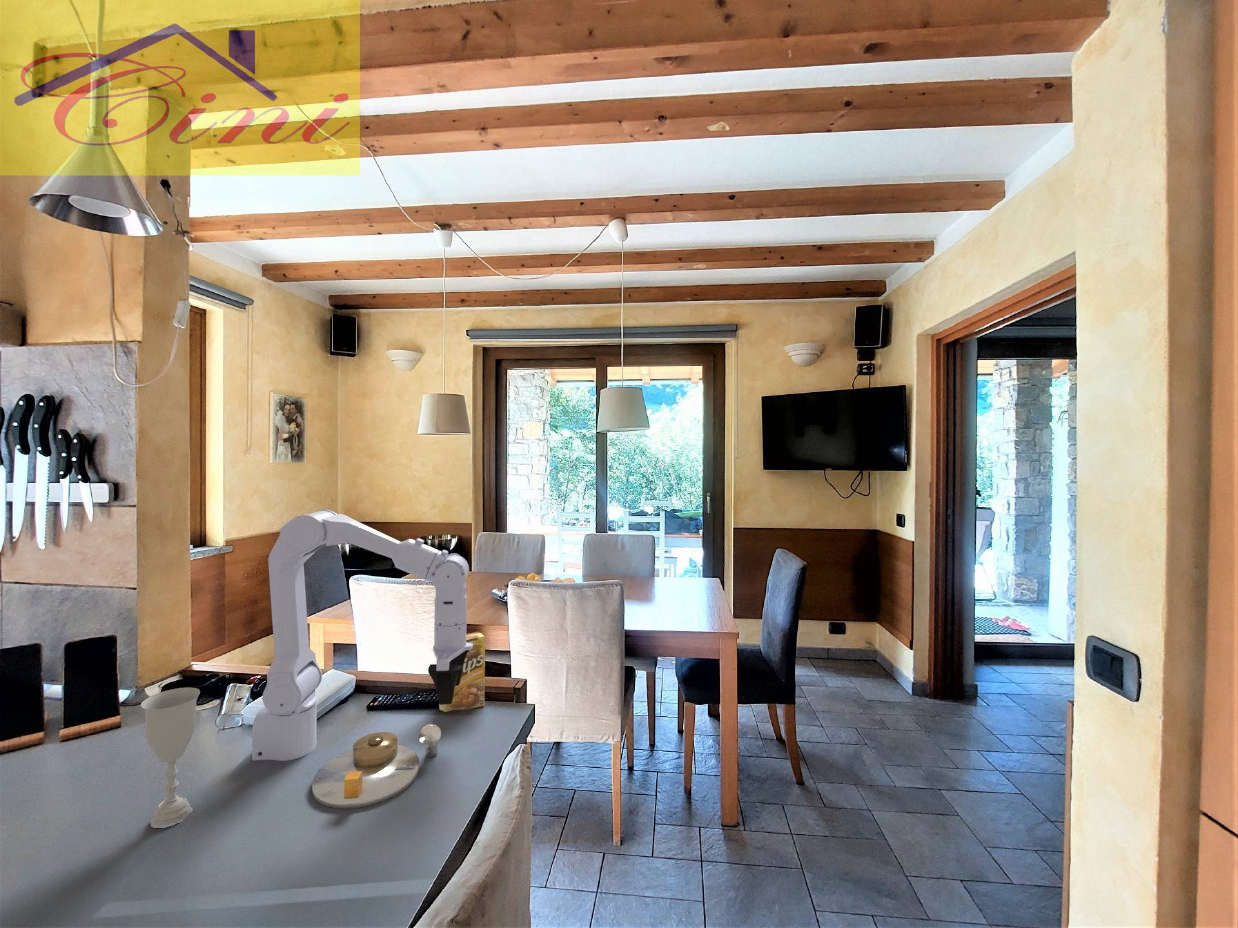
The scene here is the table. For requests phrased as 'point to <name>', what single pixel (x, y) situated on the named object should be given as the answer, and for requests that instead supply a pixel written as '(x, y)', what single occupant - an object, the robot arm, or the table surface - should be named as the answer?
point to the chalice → (170, 743)
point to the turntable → (363, 780)
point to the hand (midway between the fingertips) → (449, 693)
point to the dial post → (430, 739)
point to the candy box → (470, 677)
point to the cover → (375, 750)
